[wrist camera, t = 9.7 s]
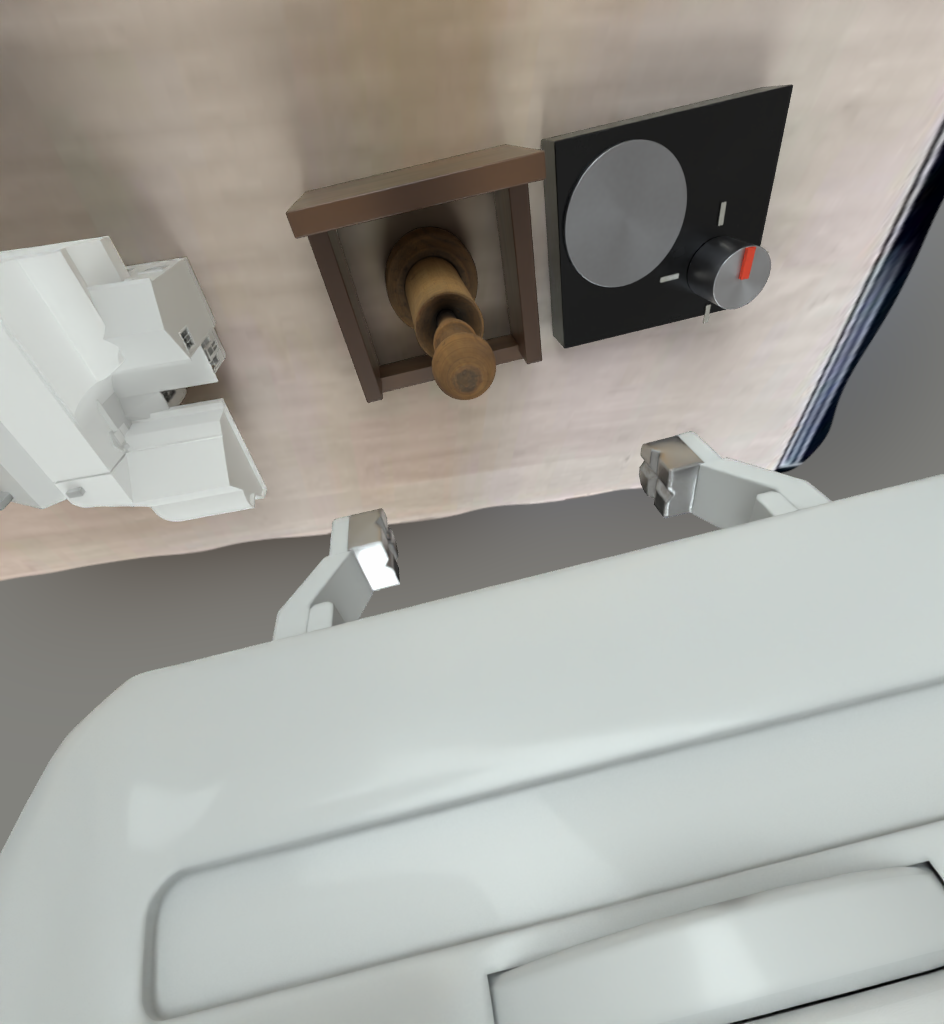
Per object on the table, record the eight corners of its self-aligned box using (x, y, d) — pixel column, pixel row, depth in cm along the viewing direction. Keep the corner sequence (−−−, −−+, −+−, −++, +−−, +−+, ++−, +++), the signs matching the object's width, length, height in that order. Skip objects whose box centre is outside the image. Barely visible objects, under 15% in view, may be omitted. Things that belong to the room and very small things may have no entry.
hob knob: (732, 290, 36) (764, 305, 33) (682, 300, 36) (710, 315, 33) (746, 231, 33) (782, 241, 30) (692, 241, 33) (723, 252, 30)
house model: (-161, 267, 29) (-347, 317, 21) (170, 219, 30) (103, 250, 22) (50, 502, 41) (-21, 587, 34) (279, 462, 42) (260, 535, 35)
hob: (553, 342, 39) (565, 357, 37) (540, 139, 31) (555, 141, 28) (732, 299, 40) (755, 310, 37) (771, 84, 31) (805, 81, 28)
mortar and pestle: (465, 328, 37) (520, 446, 24) (383, 319, 36) (391, 440, 22) (479, 233, 33) (555, 310, 20) (387, 219, 32) (400, 291, 18)
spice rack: (370, 382, 39) (370, 437, 32) (304, 192, 30) (285, 212, 23) (526, 344, 39) (559, 391, 32) (505, 144, 30) (545, 150, 24)
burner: (565, 298, 34) (567, 299, 34) (559, 156, 29) (562, 156, 28) (676, 271, 34) (679, 272, 34) (692, 124, 29) (695, 124, 29)
